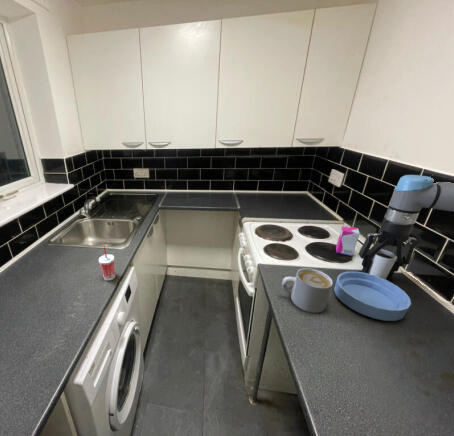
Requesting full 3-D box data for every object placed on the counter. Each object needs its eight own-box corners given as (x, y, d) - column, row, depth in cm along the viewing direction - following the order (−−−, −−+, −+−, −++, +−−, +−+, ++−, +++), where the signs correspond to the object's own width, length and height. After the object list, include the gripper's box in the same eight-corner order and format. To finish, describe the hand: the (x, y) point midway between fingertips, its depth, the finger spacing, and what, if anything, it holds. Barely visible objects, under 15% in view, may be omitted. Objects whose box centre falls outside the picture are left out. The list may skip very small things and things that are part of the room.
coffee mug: (325, 297, 79) (333, 274, 75) (324, 317, 71) (332, 292, 67) (282, 284, 86) (287, 261, 82) (277, 300, 78) (282, 277, 74)
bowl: (387, 288, 81) (392, 277, 79) (418, 329, 66) (425, 317, 64) (327, 278, 88) (331, 267, 86) (342, 314, 72) (346, 301, 70)
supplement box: (350, 250, 104) (358, 227, 99) (352, 256, 100) (360, 233, 95) (335, 247, 107) (342, 225, 102) (335, 253, 102) (343, 230, 98)
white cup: (378, 270, 90) (387, 249, 86) (392, 282, 84) (402, 259, 80) (360, 270, 91) (368, 248, 87) (372, 281, 85) (381, 258, 81)
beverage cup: (117, 279, 92) (113, 250, 86) (102, 283, 90) (96, 253, 85) (116, 271, 97) (111, 242, 92) (101, 274, 96) (96, 245, 90)
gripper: (367, 222, 78) (347, 276, 88) (444, 229, 72) (414, 287, 81) (359, 213, 85) (341, 265, 94) (429, 219, 78) (403, 274, 87)
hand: (375, 275), depth 88 cm, fingers open, 7 cm apart
